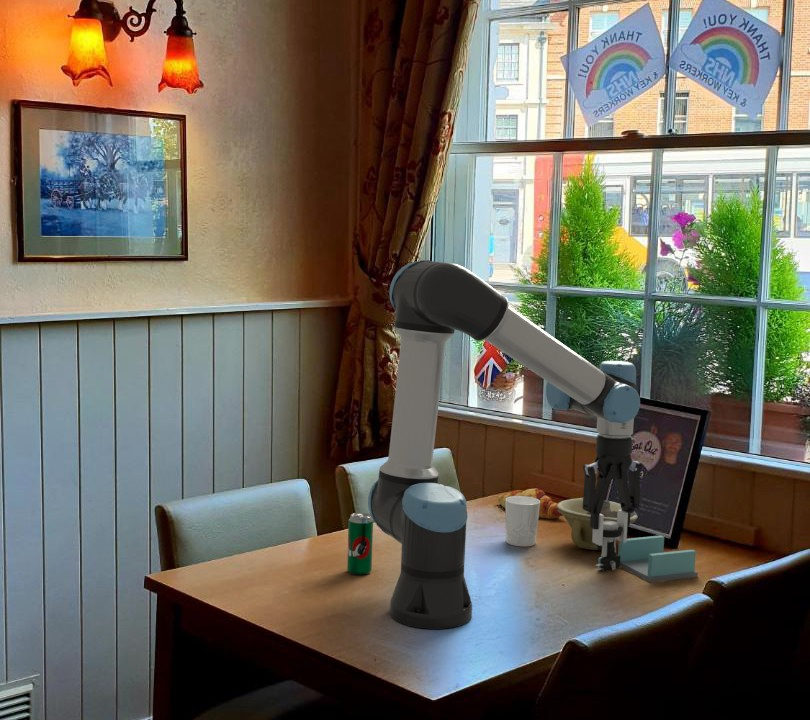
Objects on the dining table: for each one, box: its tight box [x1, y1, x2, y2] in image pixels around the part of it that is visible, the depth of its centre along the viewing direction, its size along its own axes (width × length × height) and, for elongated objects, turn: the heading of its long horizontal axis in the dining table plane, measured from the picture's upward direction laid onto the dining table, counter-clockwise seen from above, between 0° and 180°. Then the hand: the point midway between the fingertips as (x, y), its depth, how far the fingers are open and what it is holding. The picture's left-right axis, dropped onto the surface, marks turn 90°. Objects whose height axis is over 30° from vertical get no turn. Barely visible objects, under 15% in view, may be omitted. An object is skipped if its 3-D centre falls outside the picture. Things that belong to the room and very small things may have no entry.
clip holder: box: [617, 535, 699, 583], centre depth 226 cm, size 12×13×6 cm
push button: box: [595, 521, 622, 572], centre depth 225 cm, size 7×5×10 cm
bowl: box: [557, 497, 639, 552], centre depth 242 cm, size 18×18×10 cm
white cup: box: [505, 496, 540, 548], centre depth 243 cm, size 8×8×10 cm
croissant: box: [497, 488, 564, 520], centre depth 270 cm, size 21×10×8 cm, turn 47°
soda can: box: [346, 512, 374, 576], centre depth 218 cm, size 5×5×12 cm
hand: (609, 542), depth 225 cm, fingers closed on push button, 5 cm apart
